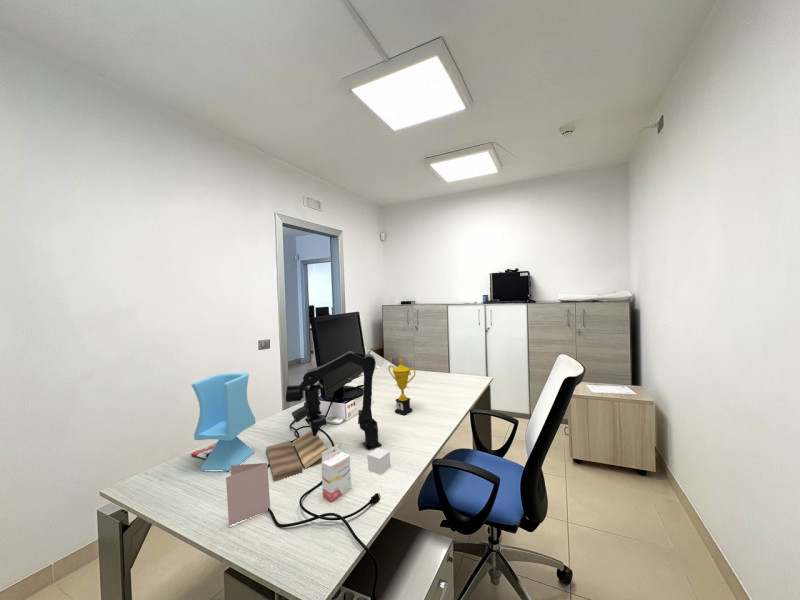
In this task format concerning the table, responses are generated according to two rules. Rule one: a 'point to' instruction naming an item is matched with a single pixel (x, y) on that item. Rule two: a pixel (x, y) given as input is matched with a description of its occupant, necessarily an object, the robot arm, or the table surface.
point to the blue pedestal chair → (224, 418)
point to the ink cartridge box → (335, 473)
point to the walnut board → (283, 460)
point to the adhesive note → (379, 460)
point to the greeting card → (247, 491)
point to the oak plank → (309, 448)
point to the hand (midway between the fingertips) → (314, 435)
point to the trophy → (402, 387)
